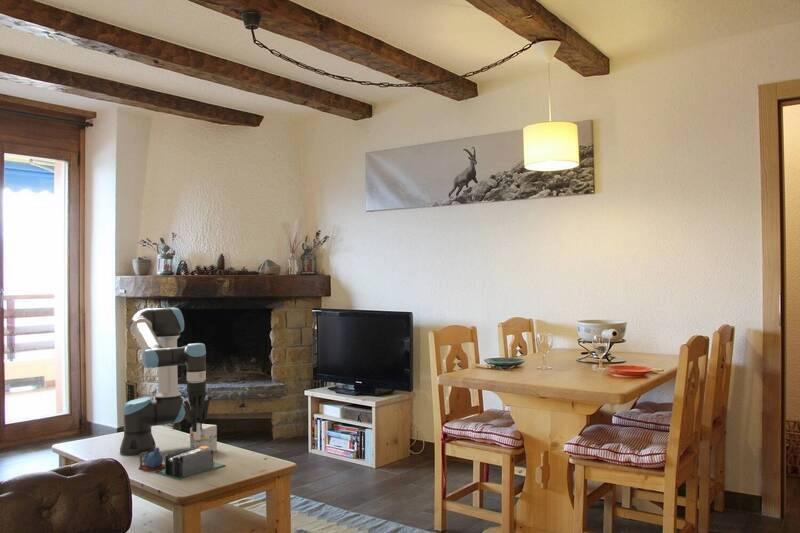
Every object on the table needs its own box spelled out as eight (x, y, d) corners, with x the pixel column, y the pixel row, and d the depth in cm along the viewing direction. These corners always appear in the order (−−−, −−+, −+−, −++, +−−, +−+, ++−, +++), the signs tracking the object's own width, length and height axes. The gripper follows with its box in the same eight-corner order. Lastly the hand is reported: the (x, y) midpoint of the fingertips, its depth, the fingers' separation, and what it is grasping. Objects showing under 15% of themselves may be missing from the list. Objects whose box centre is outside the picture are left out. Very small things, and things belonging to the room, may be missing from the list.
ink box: (189, 453, 292) (189, 427, 292) (202, 449, 300) (201, 423, 300) (205, 455, 289) (204, 428, 289) (217, 450, 297) (217, 424, 297)
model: (170, 467, 270) (170, 445, 271) (150, 473, 263) (149, 450, 263) (154, 463, 278) (154, 441, 278) (134, 468, 271) (133, 446, 271)
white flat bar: (173, 463, 257) (172, 459, 257) (167, 461, 259) (166, 457, 259) (209, 450, 270) (209, 446, 270) (203, 449, 273) (203, 445, 273)
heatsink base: (155, 473, 263) (155, 453, 263) (202, 460, 280) (201, 442, 280) (178, 479, 253) (178, 459, 253) (225, 466, 270) (225, 447, 270)
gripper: (188, 384, 261) (188, 443, 261) (215, 380, 272) (215, 437, 271) (177, 382, 266) (177, 441, 266) (204, 378, 276) (204, 434, 276)
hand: (197, 439), depth 268 cm, fingers closed
